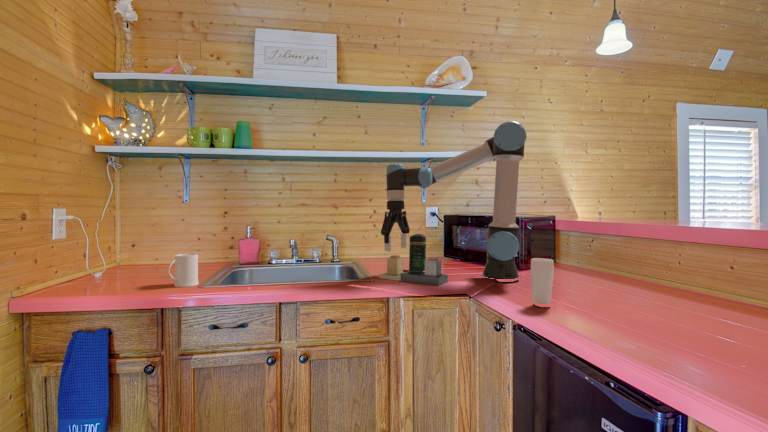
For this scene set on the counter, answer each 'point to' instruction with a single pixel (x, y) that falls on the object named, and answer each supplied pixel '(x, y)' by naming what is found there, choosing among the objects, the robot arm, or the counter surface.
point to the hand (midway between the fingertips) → (396, 249)
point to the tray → (389, 277)
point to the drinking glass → (542, 279)
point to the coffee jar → (417, 252)
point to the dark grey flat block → (423, 278)
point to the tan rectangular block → (394, 265)
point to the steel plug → (433, 267)
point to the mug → (185, 270)
